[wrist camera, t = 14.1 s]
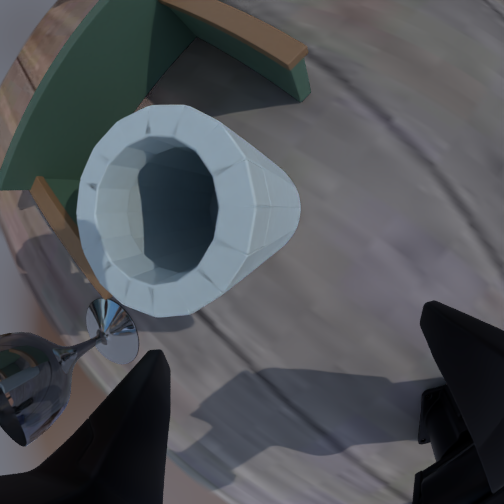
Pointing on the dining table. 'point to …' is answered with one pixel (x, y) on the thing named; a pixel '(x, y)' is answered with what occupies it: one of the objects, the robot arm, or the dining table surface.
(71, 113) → the cubby cabinet
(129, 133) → the storage jar
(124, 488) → the robot arm
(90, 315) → the wine glass
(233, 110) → the dining table surface
